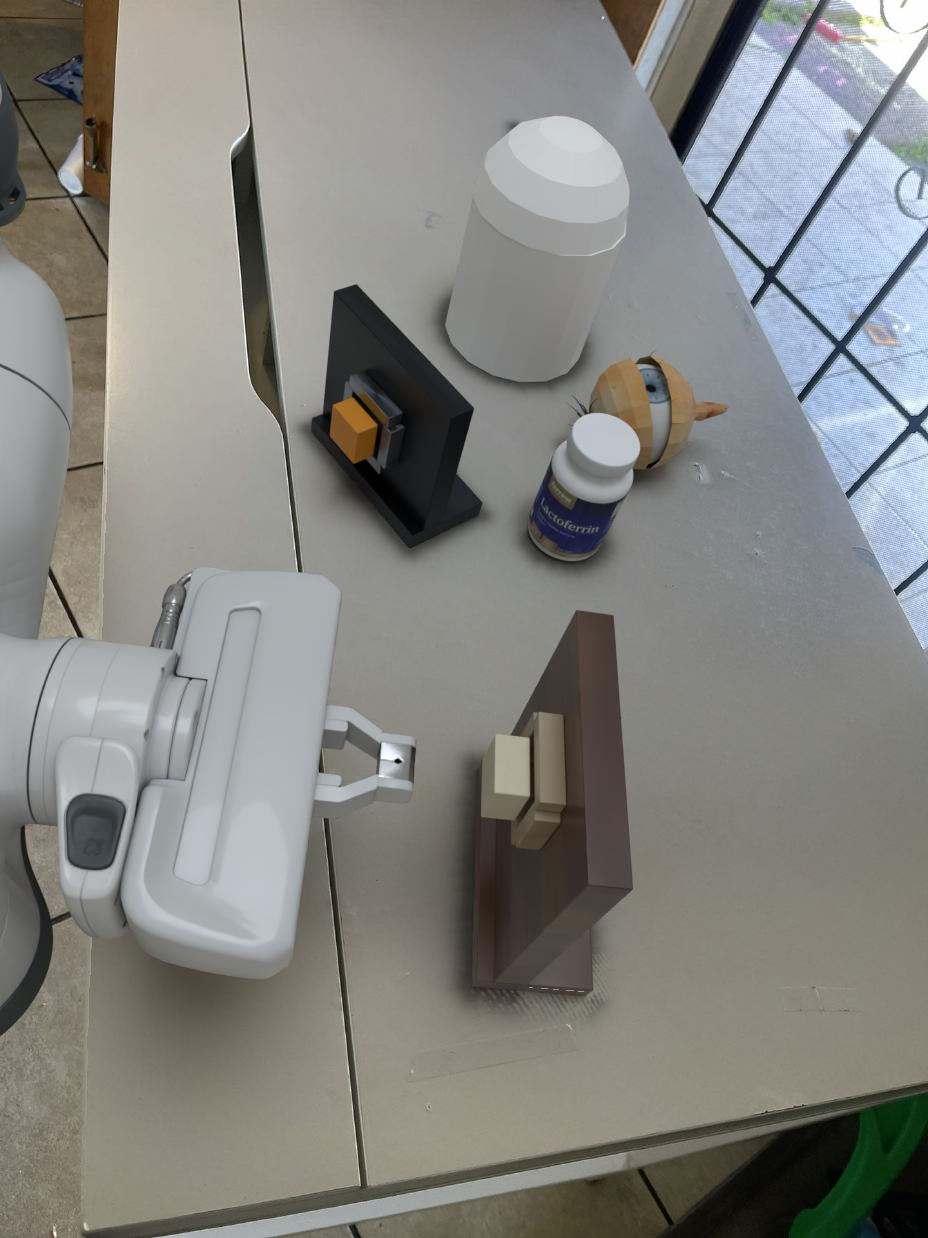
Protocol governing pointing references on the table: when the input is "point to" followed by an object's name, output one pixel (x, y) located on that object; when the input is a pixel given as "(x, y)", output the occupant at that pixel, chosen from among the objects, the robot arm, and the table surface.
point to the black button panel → (397, 421)
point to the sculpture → (651, 406)
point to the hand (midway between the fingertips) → (413, 770)
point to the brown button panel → (557, 827)
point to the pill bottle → (584, 487)
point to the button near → (505, 777)
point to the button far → (353, 430)
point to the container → (538, 249)
